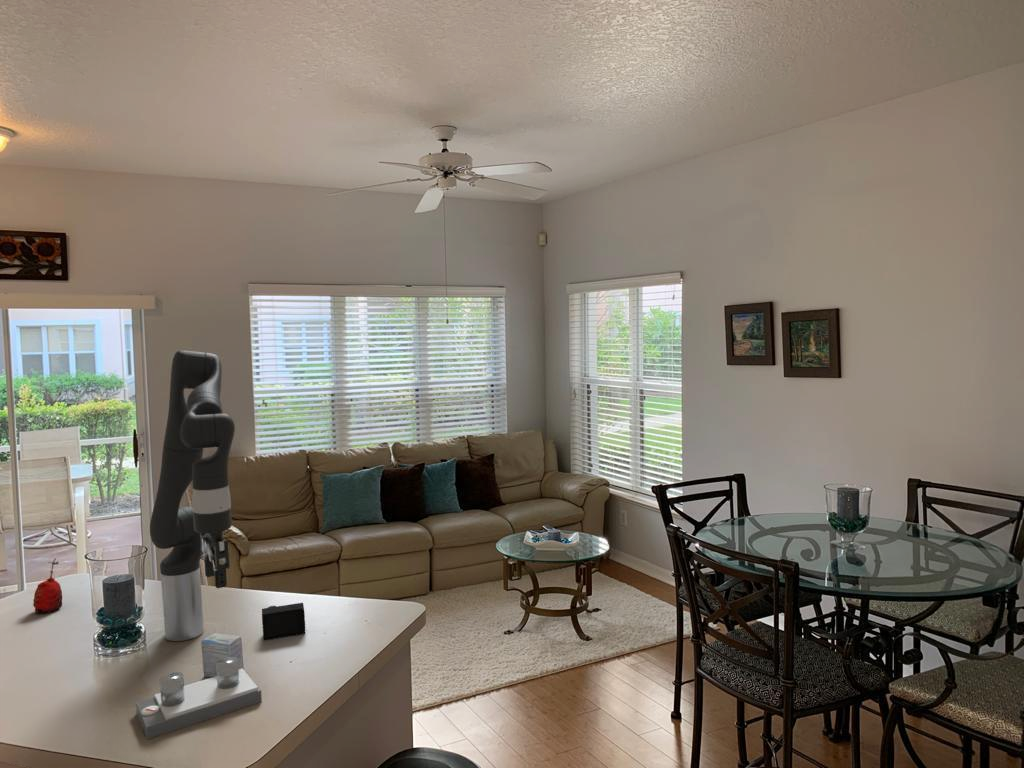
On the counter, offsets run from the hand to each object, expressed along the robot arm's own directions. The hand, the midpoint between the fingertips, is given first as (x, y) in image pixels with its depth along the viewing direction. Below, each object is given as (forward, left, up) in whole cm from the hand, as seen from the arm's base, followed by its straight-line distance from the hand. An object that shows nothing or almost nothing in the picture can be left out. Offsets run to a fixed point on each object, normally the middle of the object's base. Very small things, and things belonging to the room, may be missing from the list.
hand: (215, 581), depth 155 cm
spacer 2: (+3, 0, -22) cm, 22 cm away
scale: (+3, -6, -25) cm, 26 cm away
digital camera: (-22, +21, -25) cm, 40 cm away
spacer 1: (+3, -11, -22) cm, 24 cm away
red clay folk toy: (-84, -27, -25) cm, 91 cm away
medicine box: (-9, +2, -25) cm, 27 cm away
